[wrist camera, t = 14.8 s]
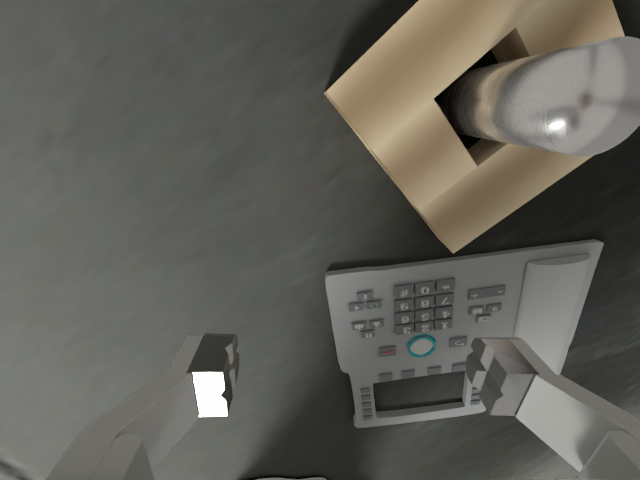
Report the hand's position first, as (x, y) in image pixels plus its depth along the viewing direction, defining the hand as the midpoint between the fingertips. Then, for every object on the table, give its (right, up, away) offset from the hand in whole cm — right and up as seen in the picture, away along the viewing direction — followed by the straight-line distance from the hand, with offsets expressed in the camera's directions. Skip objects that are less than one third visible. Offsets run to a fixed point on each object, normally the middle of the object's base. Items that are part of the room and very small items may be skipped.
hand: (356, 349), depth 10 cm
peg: (+9, +13, +10) cm, 19 cm away
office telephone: (+12, -6, +20) cm, 24 cm away
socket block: (+9, +13, +10) cm, 19 cm away
